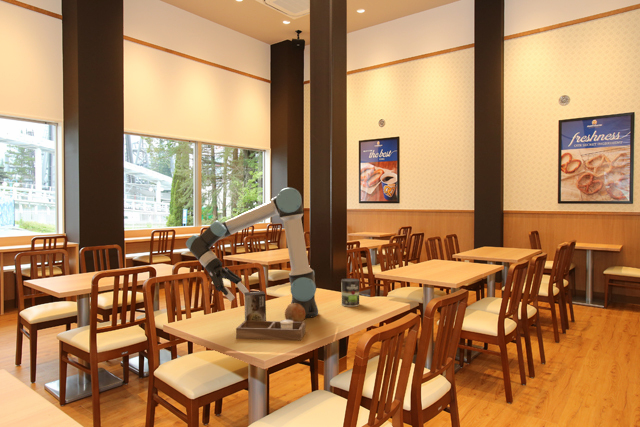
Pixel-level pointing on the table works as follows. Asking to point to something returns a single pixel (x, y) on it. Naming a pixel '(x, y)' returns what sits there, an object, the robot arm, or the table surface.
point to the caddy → (269, 330)
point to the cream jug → (286, 324)
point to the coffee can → (350, 292)
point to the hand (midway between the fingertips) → (240, 296)
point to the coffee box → (255, 306)
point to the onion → (295, 312)
